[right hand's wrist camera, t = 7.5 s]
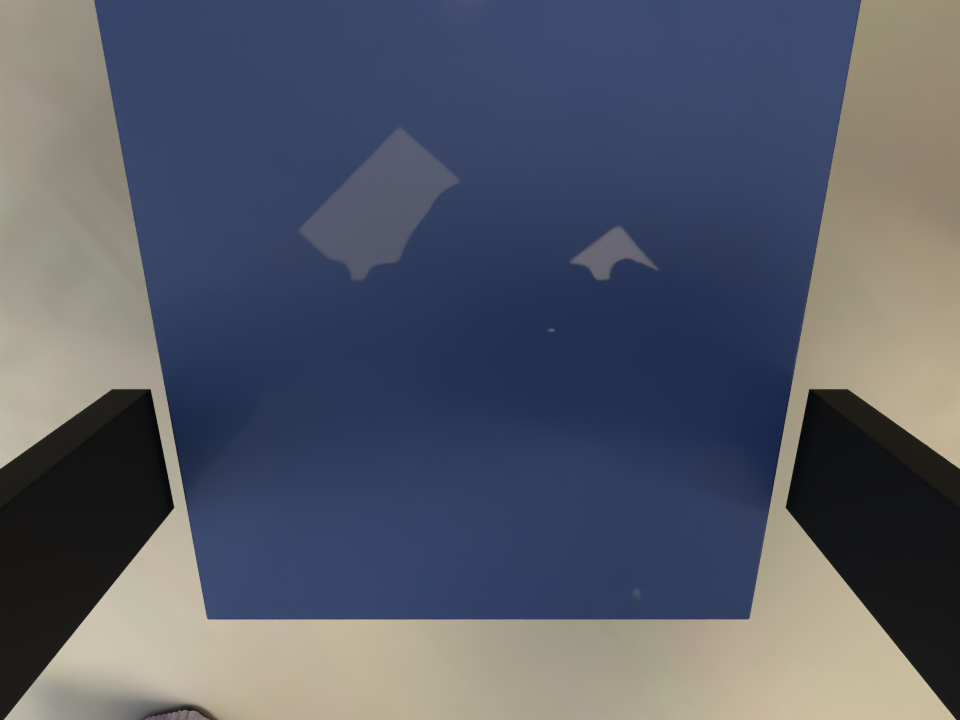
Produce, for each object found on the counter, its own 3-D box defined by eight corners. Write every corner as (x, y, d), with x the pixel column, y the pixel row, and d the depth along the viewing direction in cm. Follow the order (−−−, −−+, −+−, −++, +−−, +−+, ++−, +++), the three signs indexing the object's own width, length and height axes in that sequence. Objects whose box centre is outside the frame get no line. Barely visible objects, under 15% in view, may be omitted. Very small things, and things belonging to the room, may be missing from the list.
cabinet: (292, 1, 20) (61, -167, 9) (665, 1, 20) (892, -166, 9) (328, 404, 24) (205, 620, 13) (629, 404, 24) (750, 620, 13)
